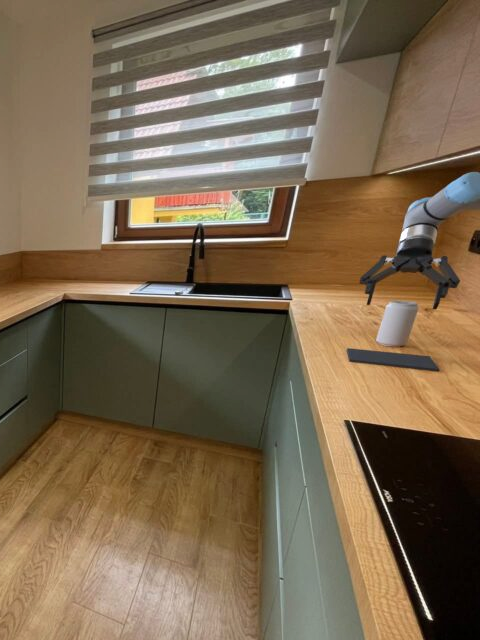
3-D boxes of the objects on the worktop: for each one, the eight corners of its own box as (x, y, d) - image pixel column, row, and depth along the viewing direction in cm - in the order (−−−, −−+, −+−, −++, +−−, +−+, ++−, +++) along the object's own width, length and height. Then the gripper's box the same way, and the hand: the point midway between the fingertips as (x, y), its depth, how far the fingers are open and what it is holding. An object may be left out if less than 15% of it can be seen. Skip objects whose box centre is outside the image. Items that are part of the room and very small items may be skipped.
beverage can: (400, 342, 122) (413, 300, 118) (410, 348, 117) (425, 304, 113) (371, 340, 125) (383, 299, 121) (380, 346, 119) (393, 303, 115)
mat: (428, 358, 108) (429, 356, 108) (439, 371, 100) (439, 369, 99) (346, 350, 118) (347, 348, 117) (349, 361, 109) (349, 359, 109)
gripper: (474, 254, 120) (462, 316, 115) (357, 253, 136) (342, 308, 131) (484, 235, 115) (471, 299, 110) (361, 237, 131) (345, 293, 126)
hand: (401, 304), depth 120 cm, fingers open, 13 cm apart
